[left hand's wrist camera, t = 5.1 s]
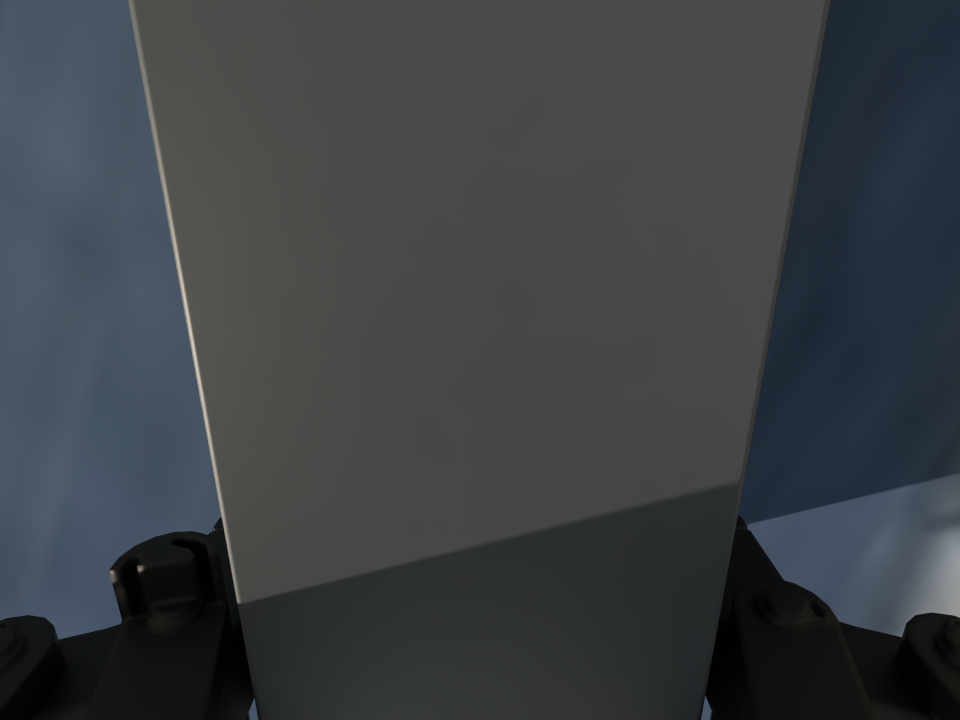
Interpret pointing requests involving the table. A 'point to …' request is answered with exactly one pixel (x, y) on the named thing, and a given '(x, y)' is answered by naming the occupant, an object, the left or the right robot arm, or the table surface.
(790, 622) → the left robot arm
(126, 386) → the table surface
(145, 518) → the table surface
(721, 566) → the post
